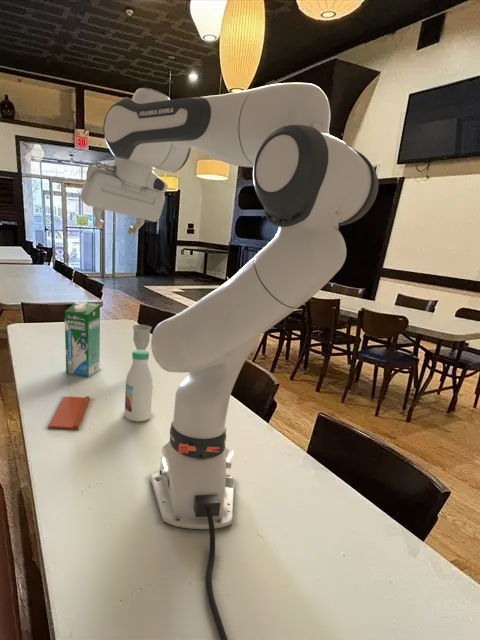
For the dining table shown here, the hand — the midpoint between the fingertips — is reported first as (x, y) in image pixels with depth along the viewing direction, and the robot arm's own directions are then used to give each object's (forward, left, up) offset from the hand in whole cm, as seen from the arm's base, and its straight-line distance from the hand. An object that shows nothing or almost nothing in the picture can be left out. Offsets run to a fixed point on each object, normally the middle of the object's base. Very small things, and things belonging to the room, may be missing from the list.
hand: (115, 231), depth 101 cm
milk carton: (+37, +14, -51) cm, 65 cm away
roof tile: (+2, +12, -51) cm, 52 cm away
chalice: (+38, -7, -51) cm, 64 cm away
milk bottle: (+2, -8, -51) cm, 52 cm away
